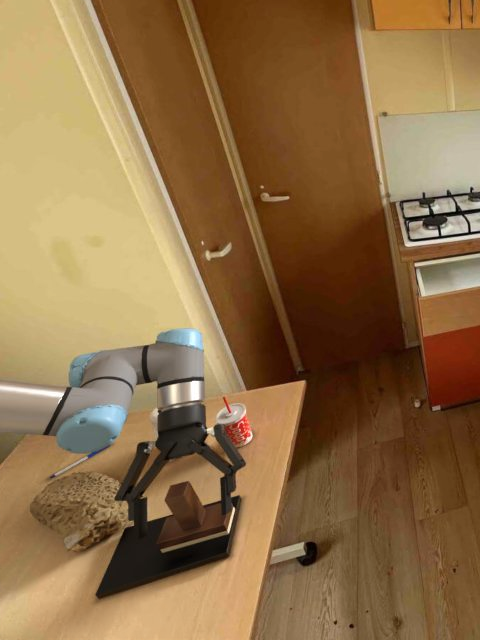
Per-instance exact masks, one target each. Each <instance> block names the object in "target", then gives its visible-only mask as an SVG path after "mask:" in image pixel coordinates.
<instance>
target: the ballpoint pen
mask: <svg viewBox="0 0 480 640" xmlns="http://www.w3.org/2000/svg"><path fill="white" fill-rule="evenodd" d="M110 446H111V444H110V445H109V446H107V447H105V448H103V449H101V450H99V451H95V452H91V453H88V454H87V455H86V456H84V457H83V458H81V459H78V460H77V461H75V462H73V463H72V464H70V465H68V466H65V467H64V468H62V469H61V470H58V471H57V472H55V473H54V474H51V476H50V477H49V479H50V480H51V479H53V478H55V477H58V476H60V475H61V474H63V473H65V472H66V471H68V470H70V469H71V468H73V467H76V466H77V465H79V464H81V463H83V462H84V461H86V460H88V459H90V458H92V457H94V456H95V455H97V454H99V453H100V452H103V451H104V450H106V449H108V448H110Z"/></svg>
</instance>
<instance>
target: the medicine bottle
mask: <svg viewBox="0 0 480 640" xmlns="http://www.w3.org/2000/svg"><path fill="white" fill-rule="evenodd" d="M160 412H161V410H158V409H157V407H155V408H154V409H153V410H152V411H151V412H150V414H149V415H148V419H149V422H150V423H151V426H152V430H153V437H154V441H156V440H157V438H158V429H157V415H159V413H160ZM172 461H175V459H173V460H171V459H170V461H169V462H168V463H170V462H172Z"/></svg>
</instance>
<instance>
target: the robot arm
mask: <svg viewBox="0 0 480 640" xmlns="http://www.w3.org/2000/svg"><path fill="white" fill-rule="evenodd" d="M204 353H205V350H204V343H203V334H202V332H201V331H200V330H198V329H196V328H188V327H187V328H184V327H183V328H174V329H173V328H172V329H170V330H164V331H161V332H159V333H158V334H157V335H156V340H155V343H150V344H145V345H136V346H129V347H120V348H113V349H102V350H99V351H93V352H88V353H82V354H80V355H77V356H76V357H74V358H73V360H72V361H71V362H70V364H69V365H70V366H69V371H68V384H69V386H66V385H57V384H49V383H40V382H32V381H26V380H25V381H23V380H16V379H9V378H8V379H7V378H0V433H1V434H16V435H17V434H18V435H19V434H20V435H33V436H34V435H35V436H37V435H38V436H47V437H48V436H49V437H56V441H55V442H56V445H57V446H58V447H59V448H60V449H62V450H65V451H68V452H69V453H71V454H77V455H84V454H91V453H92V452H95V451H99V450H101V449H103V448H105V447H107V446H109V445H110V446H111V445H112V444H113V443H114V442H115V441H116V440H117V439H118V437H119V436H120V434H121V432H122V429H123V427H124V425H125V423H126V422H127V419H128V412H129V409H130V405H131V403H132V402H131V401H132V398H133V396H134V393H135V390H136V386H140V385H147V384H151V383H156V384H157V385H156V390H157V391H156V393H157V395H156V397H157V398H156V408H157V409H158V410H161V412H160V413H159V415H157V429H158V438H157V440H156V441H155V440H152V441H151V440H147V441H146V440H145V441H140V442H138V444H137V445H136V449H135V450H136V451H135V456H134V458H133V460H132V462H131V464H130V466H129V468H128V470H127V472H126V473H125V476H124V478H123V480H122V482H121V483H120V484H121V486H120V488H119V490H118V492H117V494H116V496H115V500H116V501H126V502H127V504H128V518H127V519H128V522H132V521H133V526H134V541H136V540H139V539H141V538H143V537H145V536H147V521H148V496H146V497H144V494H145V493H146V491H147V490H148V489H149V487H150V486H151V485H152V483H153V482H154V481H155V480H156V478H157V477H158V476H159V474H160V473H161V472H162V470H163V469H164V467H165V466H166V465H167V464H168V463H170V462H171V461H170V459H171V460H172V461H174V460H176V459H181V458H183V457H189V456H192V455H195V454H197V455H198V456H200V457H202V458H203V459H205V460H206V461H207V462H209V463H210V464H211V465H212V466H213V467H214V468H215V469H217V470H218V471H220V472H221V473H222V474H223V476H221V477H219V479H220V480H219V485H220V500H221V508H222V515H225V514H228V513H229V512H231V511H232V505H231V497H232V493H234V492H236V490H237V477H236V475H237V473H238V471H240V470H241V469H242V468H245V466H246V465H247V462H246V460H245V459H244V457H243V455H242V454H241V453H240V451H239V450H238V447H235V446H234V444H233V443H232V441H231V440H230V438H229V437H228V435H227V434H226V428H225V425H224V424H217V423H216V424H215V425H214V426H210V427H208V426H207V411H206V410H207V409H206V405H205V404H203V402H205V401H206V385H205V354H204ZM209 436H211V437H212V438H215V440H216V442H217V443H218V445H219V446H220V448H221V449H222V451H223V452H224V454H225V455H226V457H227V458H228V459H229V461H228V460H227V459H225V458H224V457H223V456H221V455H220V454H219V453H217V452H216V451H215V450H214V449H213V448H212V447H211V446H210V445H209V444H207V442H205V441H206V440H207V438H208V437H209ZM110 446H109V447H110ZM155 448H156V449H157V450H158V451H159V454H158V455H157V456H156V457H155V459H154V460H153V463H152V464H151V466H150V467H149V468H148V469H147V470H146V472H145V473H144V475H143V476H142V477H141V474H142V473H143V471H144V468H145V467H146V464H147V462H148V460H149V459H150V455H151V453H153V452H154V450H155ZM173 459H174V460H173ZM169 461H170V462H169ZM140 477H141V478H140ZM139 478H140V479H139ZM138 480H139V481H138ZM137 482H138V483H137Z"/></svg>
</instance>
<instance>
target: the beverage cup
mask: <svg viewBox="0 0 480 640" xmlns="http://www.w3.org/2000/svg"><path fill="white" fill-rule="evenodd" d="M222 400H223V402H224V404H225V407H223V408H221V409H220V410H219V411H218V412H217V413H216V415H215V417H214V418H215V422H216V424H224V425H225V428H226V434H227V435H228V437H229V438H230V440H231V441H232V443H233V444H234V446H235V447H236V448H241V447H244V446H245V445H247V444H249V443H250V442H251V441H252V439H253V432H252V429H251V425H250V421H249V418H248V415H247V407H246V405H245V404H244V403H239V402H237V403H231V404H229V403H228V401H227V398H226V396H223V397H222Z"/></svg>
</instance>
